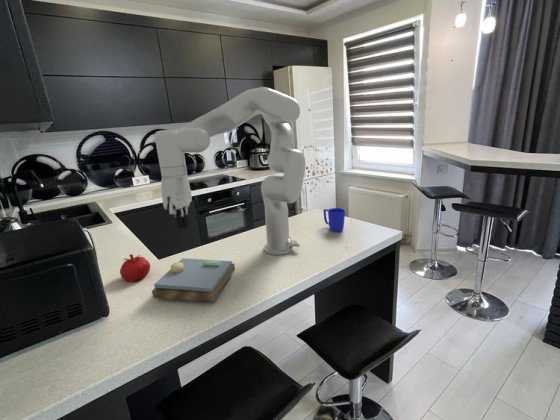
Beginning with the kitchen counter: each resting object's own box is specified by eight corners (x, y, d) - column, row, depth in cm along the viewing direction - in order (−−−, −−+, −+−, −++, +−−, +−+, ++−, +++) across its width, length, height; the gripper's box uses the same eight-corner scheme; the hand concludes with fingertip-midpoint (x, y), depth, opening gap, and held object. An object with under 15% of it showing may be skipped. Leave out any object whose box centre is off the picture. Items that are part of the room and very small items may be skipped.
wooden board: (235, 273, 106) (234, 263, 105) (214, 306, 88) (212, 294, 87) (184, 270, 110) (183, 261, 109) (153, 301, 91) (151, 290, 90)
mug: (329, 224, 152) (329, 205, 149) (348, 229, 143) (348, 210, 140) (318, 228, 147) (318, 209, 144) (337, 234, 138) (337, 214, 135)
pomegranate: (157, 273, 110) (153, 251, 107) (133, 286, 101) (129, 262, 98) (138, 268, 114) (135, 246, 111) (115, 280, 105) (110, 257, 103)
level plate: (232, 264, 104) (231, 256, 104) (212, 292, 88) (211, 282, 87) (183, 261, 108) (181, 253, 107) (154, 287, 91) (153, 278, 90)
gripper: (175, 167, 97) (184, 219, 103) (148, 176, 83) (159, 236, 89) (196, 167, 96) (203, 219, 101) (172, 175, 82) (182, 236, 87)
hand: (183, 227), depth 95 cm, fingers closed
